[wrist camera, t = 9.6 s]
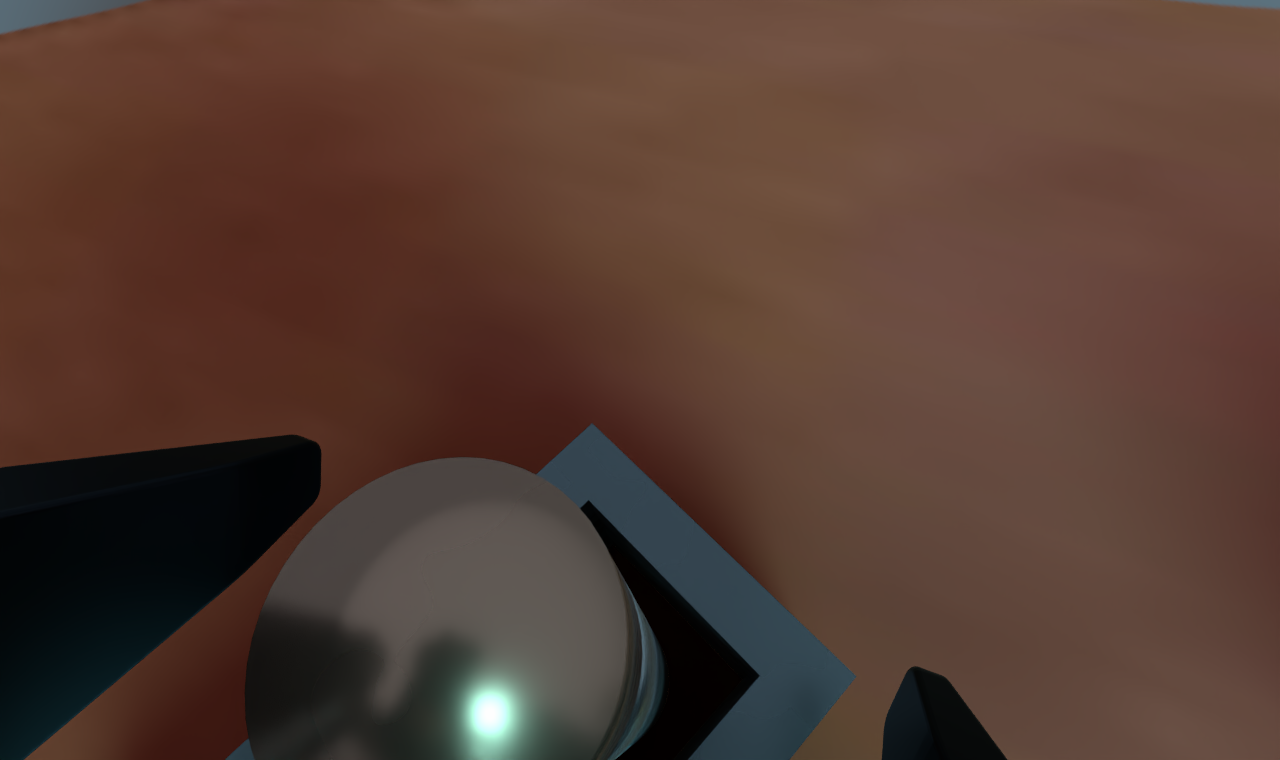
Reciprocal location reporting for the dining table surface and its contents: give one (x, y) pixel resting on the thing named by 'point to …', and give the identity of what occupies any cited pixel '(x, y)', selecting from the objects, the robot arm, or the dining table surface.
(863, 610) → the dining table surface
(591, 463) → the bar
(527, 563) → the steel pin
